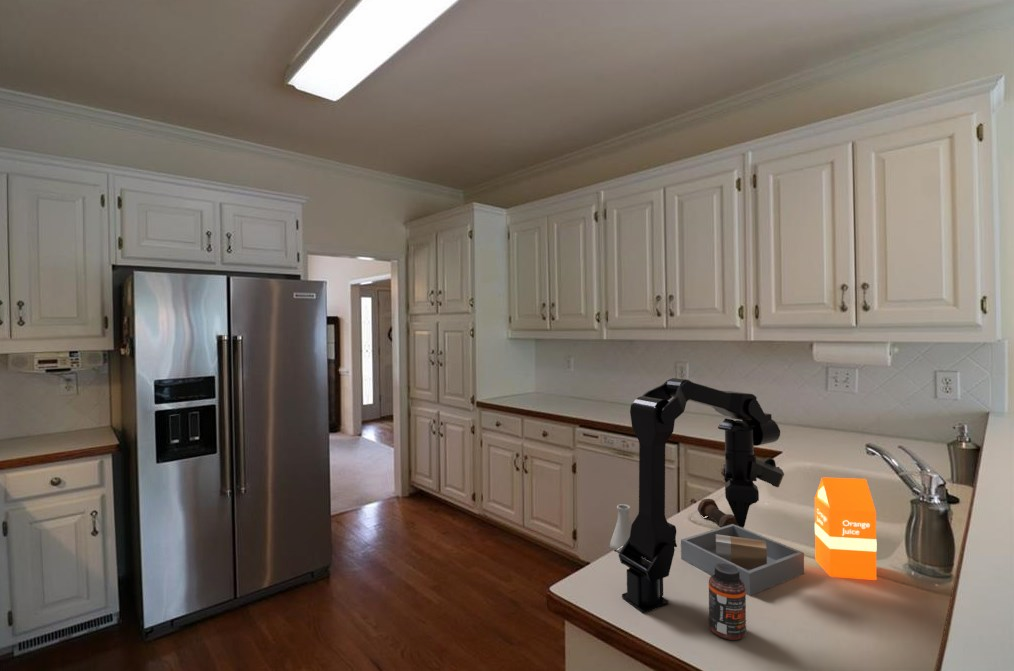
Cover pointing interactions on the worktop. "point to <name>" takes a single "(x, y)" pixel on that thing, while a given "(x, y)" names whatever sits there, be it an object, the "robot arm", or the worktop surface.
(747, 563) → the tan rectangular block
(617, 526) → the flask
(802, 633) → the worktop surface
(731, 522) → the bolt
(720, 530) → the bin
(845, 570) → the orange juice
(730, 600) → the supplement bottle
